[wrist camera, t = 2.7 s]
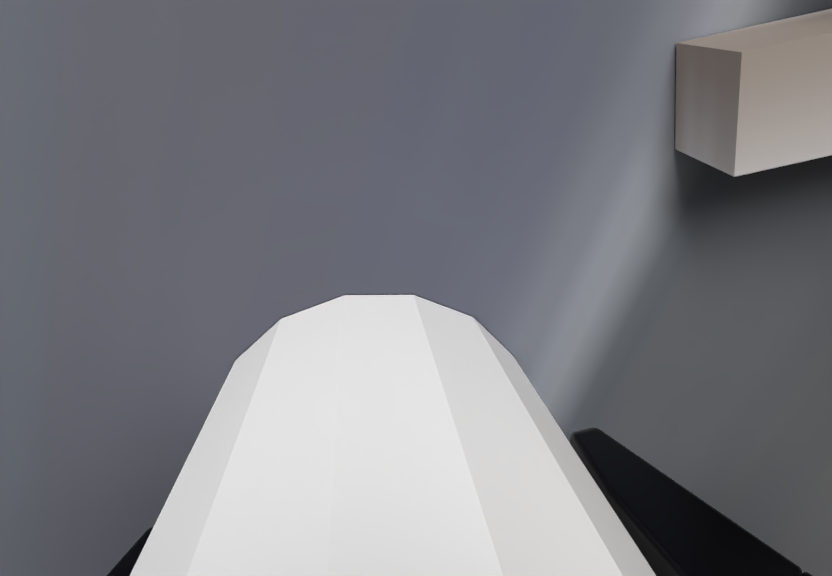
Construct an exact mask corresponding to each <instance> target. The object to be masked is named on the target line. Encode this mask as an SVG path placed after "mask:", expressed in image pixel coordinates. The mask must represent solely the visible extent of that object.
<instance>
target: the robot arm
mask: <svg viewBox="0 0 832 576" xmlns="http://www.w3.org/2000/svg"><path fill="white" fill-rule="evenodd" d="M570 443H571V446H572V447H573V449H574V450H575V452H576V453H577V455H578V457H579V458H580V460H581V461H582V463H583V464H584V466H585V467H586V469H587V470H588V472H589V473H590V475H591V476H592V478H593V479H594V481H595V483H596V484H597V486H598V487H599V489H600V490H601V492H602V493H603V495H604V496H605V498H606V499H607V501H608V502H609V504H610V506H611V507H612V509H613V510H614V512H615V513H616V515H617V516H618V518H619V519H620V521H621V522H622V524H623V525H624V527H625V529H626V530H627V532H628V533H629V535H630V536H631V538H632V539H633V541H634V542H635V544H636V545H637V547H638V548H639V550H640V552H641V553H642V555H643V556H644V558H645V559H646V561H647V562H648V564H649V565H650V567H651V568H652V570H653V571H654V573H655V575H656V576H812V575H810V574H809V573H807V572H804V573H803V574H802V570H801V568H800V567H798V566H797V565H795V564H794V563H793V562H791V561H790V560H788V559H787V558H785V557H784V556H782V555H781V554H779V553H778V552H777V551H775V550H774V549H772V548H771V547H769V546H768V545H766V544H765V543H764V542H762V541H761V540H759V539H758V538H756V537H755V536H753V535H752V534H750V533H749V532H748V531H746V530H745V529H743V528H742V527H740V526H739V525H737V524H736V523H734V522H733V521H732V520H730V519H729V518H727V517H726V516H724V515H723V514H721V513H720V512H719V511H717V510H716V509H714V508H713V507H711V506H710V505H708V504H707V503H705V502H704V501H703V500H701V499H700V498H698V497H697V496H695V495H694V494H692V493H691V492H689V491H688V490H687V489H685V488H684V487H682V486H681V485H679V484H678V483H676V482H675V481H674V480H672V479H671V478H669V477H668V476H666V475H665V474H663V473H662V472H660V471H659V470H658V469H656V468H655V467H653V466H652V465H650V464H649V463H647V462H646V461H645V460H643V459H642V458H640V457H639V456H637V455H636V454H634V453H633V452H631V451H630V450H629V449H627V448H626V447H624V446H623V445H621V444H620V443H618V442H617V441H615V440H614V439H613V438H611V437H610V436H608V435H607V434H605V433H604V432H602V431H601V430H599V429H597V428H589V429H585V430H580V431H576V432H573V433H572V434H571V437H570ZM152 529H153V527H151V528H150V529H148V530H147V531H146V532H145V533H144V534H143V535H142V537H141V538H140V539H139V540H138V541H137V542H136V543H135V544H134V546H133V547H132V548H131V549H130V550H129V551H128V552H127V553H126V555H125V556H124V557H123V558H122V559H121V560H120V561H119V562H118V564H117V565H116V566H115V567H114V568H113V569H112V570H111V571H110V573H109V574H108V575H107V576H130V574H131V572H132V570H133V568H134V566H135V564H136V562H137V560H138V558H139V556H140V554H141V552H142V549H143V547H144V545H145V543H146V541H147V539H148V537H149V535H150V533H151V531H152Z"/></svg>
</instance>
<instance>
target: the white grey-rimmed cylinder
mask: <svg viewBox="0 0 832 576" xmlns="http://www.w3.org/2000/svg"><path fill="white" fill-rule="evenodd" d="M130 576H656V575H655V573H654V571H653V570H652V568H651V567H650V565H649V564H648V562H647V561H646V559H645V558H644V556H643V555H642V553H641V552H640V550H639V548H638V547H637V545H636V544H635V542H634V541H633V539H632V538H631V536H630V535H629V533H628V532H627V530H626V529H625V527H624V525H623V524H622V522H621V521H620V519H619V518H618V516H617V515H616V513H615V512H614V510H613V509H612V507H611V506H610V504H609V502H608V501H607V499H606V498H605V496H604V495H603V493H602V492H601V490H600V489H599V487H598V486H597V484H596V483H595V481H594V479H593V478H592V476H591V475H590V473H589V472H588V470H587V469H586V467H585V466H584V464H583V463H582V461H581V460H580V458H579V457H578V455H577V453H576V452H575V450H574V449H573V447H572V446H571V444H570V443H569V441H568V440H567V438H566V437H565V435H564V434H563V432H562V430H561V429H560V427H559V426H558V424H557V423H556V421H555V420H554V418H553V417H552V415H551V414H550V412H549V411H548V409H547V407H546V406H545V404H544V403H543V401H542V400H541V398H540V397H539V395H538V394H537V392H536V391H535V389H534V388H533V386H532V384H531V383H530V381H529V380H528V378H527V377H526V375H525V374H524V372H523V371H522V369H521V368H520V366H519V365H518V363H517V361H516V360H515V358H514V357H513V355H511V354H510V353H509V352H508V351H507V350H506V349H505V348H504V347H503V346H502V345H501V344H500V343H499V342H498V341H497V340H496V339H495V338H494V337H493V336H492V335H491V334H490V333H489V332H488V331H487V330H486V329H485V328H484V327H483V326H482V325H481V324H479V323H478V322H477V321H476V320H475V319H474V318H473V317H471V316H469V315H466V314H463V313H460V312H458V311H455V310H452V309H450V308H447V307H444V306H442V305H439V304H436V303H434V302H431V301H428V300H426V299H423V298H420V297H418V296H415V295H344V296H341V297H339V298H336V299H333V300H331V301H328V302H325V303H322V304H320V305H317V306H314V307H312V308H309V309H306V310H304V311H301V312H298V313H296V314H293V315H290V316H287V317H285V318H282V319H280V320H279V321H278V322H277V323H276V324H275V325H274V326H273V327H272V328H271V329H269V330H268V331H267V332H266V333H265V334H264V335H263V336H262V337H261V338H260V339H258V340H257V341H256V342H255V343H254V344H253V345H252V346H251V347H250V348H249V349H248V350H246V351H245V352H244V353H243V354H242V355H241V356H240V357H239V358H238V359H237V360H235V362H234V364H233V367H232V369H231V371H230V373H229V375H228V377H227V379H226V381H225V383H224V385H223V387H222V389H221V391H220V393H219V395H218V397H217V399H216V401H215V403H214V405H213V407H212V409H211V411H210V413H209V415H208V417H207V419H206V421H205V423H204V425H203V428H202V430H201V432H200V434H199V436H198V438H197V440H196V442H195V444H194V446H193V448H192V450H191V452H190V454H189V456H188V458H187V460H186V462H185V464H184V466H183V468H182V470H181V472H180V474H179V476H178V478H177V480H176V482H175V484H174V486H173V488H172V491H171V493H170V495H169V497H168V499H167V501H166V503H165V505H164V507H163V509H162V511H161V513H160V515H159V517H158V519H157V521H156V523H155V525H154V527H153V529H152V531H151V533H150V535H149V537H148V539H147V541H146V543H145V545H144V547H143V549H142V552H141V554H140V556H139V558H138V560H137V562H136V564H135V566H134V568H133V570H132V572H131V574H130Z"/></svg>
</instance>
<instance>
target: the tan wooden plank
mask: <svg viewBox="0 0 832 576" xmlns="http://www.w3.org/2000/svg"><path fill="white" fill-rule="evenodd" d="M675 149H676V150H678V151H680V152H682V153H684V154H687V155H689V156H691V157H693V158H695V159H697V160H699V161H702V162H704V163H706V164H708V165H710V166H712V167H714V168H716V169H719V170H721V171H723V172H725V173H727V174H729V175H731V176H733V177H736V176H740V175H745V174H749V173H754V172H758V171H763V170H767V169H772V168H776V167H781V166H785V165H790V164H794V163H799V162H803V161H808V160H812V159H817V158H821V157H826V156H830V155H832V9H828V10H823V11H819V12H814V13H810V14H805V15H801V16H796V17H792V18H787V19H782V20H778V21H773V22H769V23H764V24H760V25H755V26H751V27H746V28H742V29H737V30H733V31H728V32H724V33H719V34H715V35H710V36H706V37H701V38H697V39H692V40H688V41H683V42H679V43H677V47H676V125H675Z"/></svg>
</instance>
